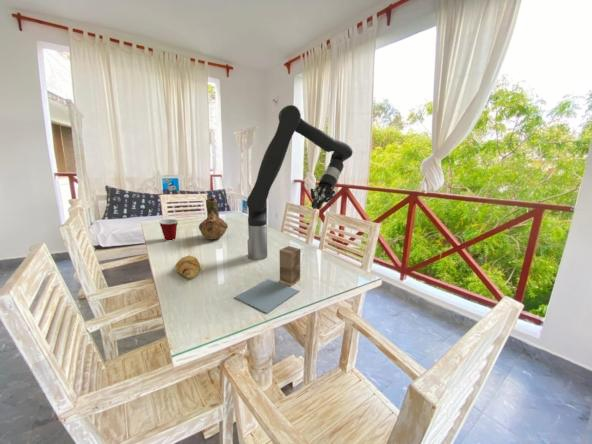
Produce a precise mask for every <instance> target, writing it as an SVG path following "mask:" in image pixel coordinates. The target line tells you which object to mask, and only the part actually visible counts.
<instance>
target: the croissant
mask: <svg viewBox="0 0 592 444" xmlns="http://www.w3.org/2000/svg"><path fill="white" fill-rule="evenodd" d="M174 268H175V271H176V272H177V273H178V274H179V275H181V274H183V275H182V276H183V277H185V276H186V277H185V278H187V279H188V278H189V280H191V279H194V277H196V276H197V274H198V273H199V271H200V270H201V264H200V261H199V260H198V258H196V257H195V256H193V255H185V256H184V257H181V258H180V259H179V260H178V261H177V262H176V263H175V265H174Z"/></svg>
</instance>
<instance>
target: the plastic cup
mask: <svg viewBox="0 0 592 444" xmlns="http://www.w3.org/2000/svg"><path fill="white" fill-rule="evenodd" d="M158 223H159V226H160V227H161V232H162V235H163V238H164V240H165V241H166V240H172V241H174V240H173V239H175V240H176V235H177V230H178V229H177V228H178V223H179V220H178V219H173V218H167V219H166V218H165V219H160V220H159V221H158Z"/></svg>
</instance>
